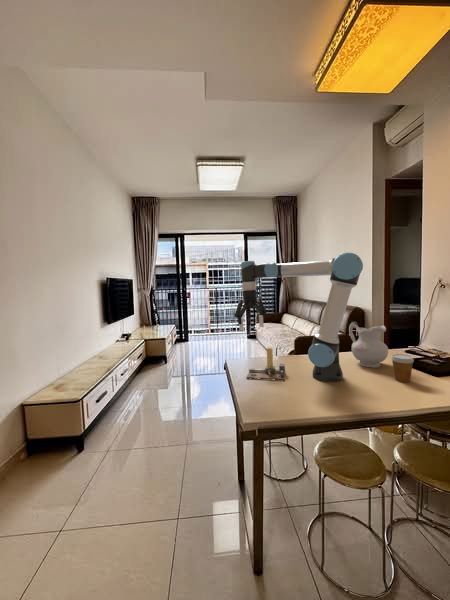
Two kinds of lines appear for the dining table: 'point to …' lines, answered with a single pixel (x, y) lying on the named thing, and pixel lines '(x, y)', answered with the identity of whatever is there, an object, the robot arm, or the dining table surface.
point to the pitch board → (262, 373)
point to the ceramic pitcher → (368, 345)
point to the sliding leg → (270, 361)
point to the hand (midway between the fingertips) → (251, 328)
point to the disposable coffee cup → (402, 367)
